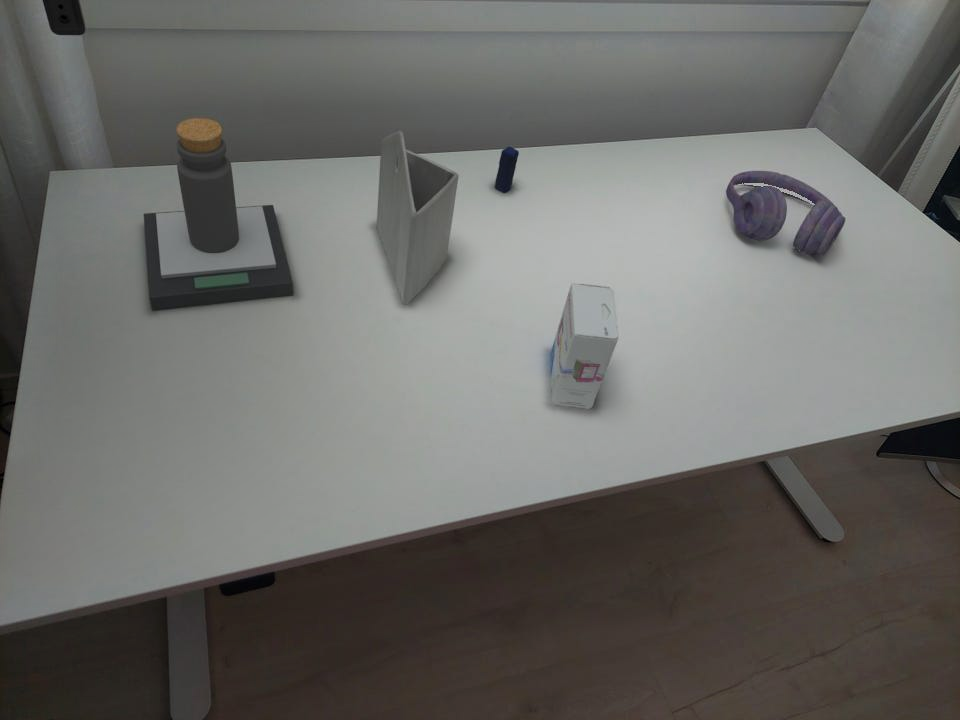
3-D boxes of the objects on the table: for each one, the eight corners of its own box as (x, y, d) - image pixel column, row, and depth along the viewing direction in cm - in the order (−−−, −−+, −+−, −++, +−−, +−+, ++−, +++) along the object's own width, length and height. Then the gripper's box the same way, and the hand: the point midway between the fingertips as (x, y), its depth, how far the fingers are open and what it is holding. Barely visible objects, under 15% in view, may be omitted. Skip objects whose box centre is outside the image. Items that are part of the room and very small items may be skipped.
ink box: (547, 352, 88) (571, 279, 80) (587, 357, 89) (614, 285, 80) (549, 405, 82) (575, 332, 74) (592, 410, 83) (622, 339, 74)
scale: (152, 311, 83) (148, 293, 81) (146, 227, 93) (142, 209, 91) (293, 296, 88) (292, 278, 86) (273, 217, 98) (272, 200, 96)
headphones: (839, 272, 109) (818, 218, 125) (867, 224, 104) (841, 174, 120) (721, 239, 110) (715, 190, 126) (743, 190, 105) (734, 145, 121)
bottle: (214, 218, 92) (199, 109, 81) (249, 237, 90) (239, 129, 79) (178, 239, 88) (158, 128, 77) (214, 260, 86) (198, 149, 75)
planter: (462, 299, 92) (486, 169, 78) (402, 306, 90) (416, 172, 76) (430, 223, 102) (446, 95, 89) (375, 226, 100) (383, 96, 86)
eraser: (492, 188, 111) (500, 149, 106) (501, 183, 112) (509, 144, 107) (503, 195, 110) (512, 156, 105) (512, 189, 112) (520, 150, 107)
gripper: (-60, -306, 45) (19, -31, 57) (-97, -263, 37) (6, 51, 48) (73, -287, 48) (123, -28, 59) (68, -243, 39) (128, 51, 51)
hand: (70, 7), depth 54 cm, fingers open, 8 cm apart
